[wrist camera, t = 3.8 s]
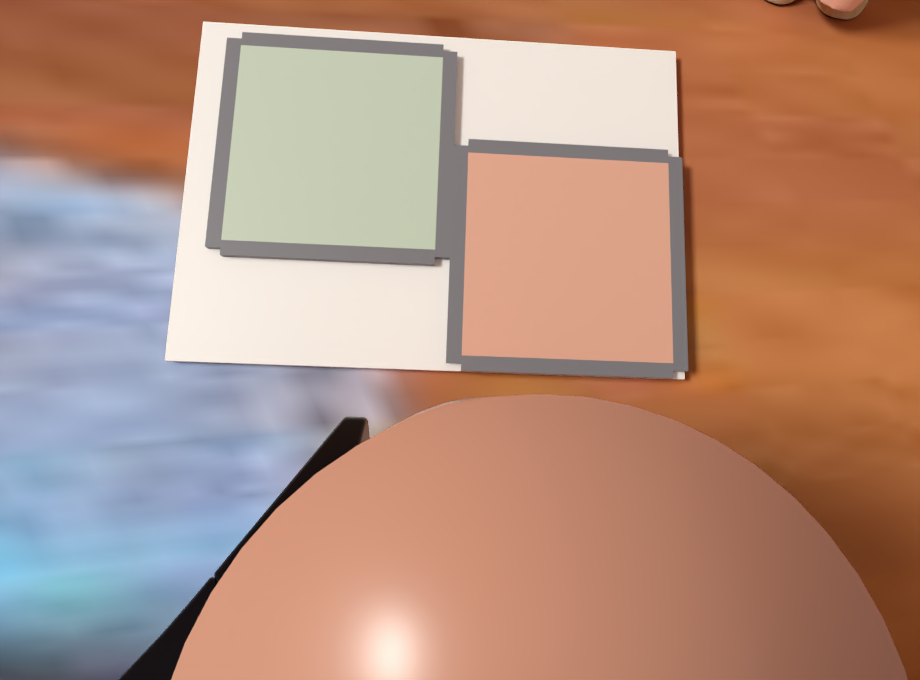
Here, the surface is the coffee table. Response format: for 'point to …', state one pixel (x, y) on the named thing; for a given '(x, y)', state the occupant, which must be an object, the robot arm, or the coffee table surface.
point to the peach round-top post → (540, 561)
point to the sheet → (431, 206)
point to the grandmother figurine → (836, 7)
